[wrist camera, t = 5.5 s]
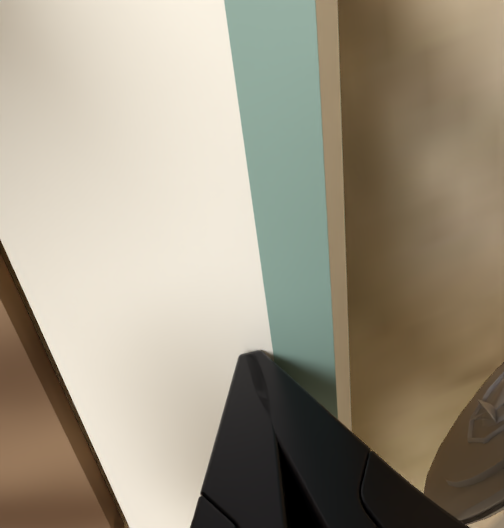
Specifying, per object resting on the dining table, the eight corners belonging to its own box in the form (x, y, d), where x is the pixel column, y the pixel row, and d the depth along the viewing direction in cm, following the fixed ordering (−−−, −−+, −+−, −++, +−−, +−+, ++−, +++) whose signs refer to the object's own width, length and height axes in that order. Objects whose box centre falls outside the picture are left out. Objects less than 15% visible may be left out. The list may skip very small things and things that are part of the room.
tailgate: (156, 514, 17) (357, 583, 14) (137, 547, 16) (349, 628, 13) (-104, -153, 8) (326, -344, 5) (-186, -173, 7) (292, -426, 4)
